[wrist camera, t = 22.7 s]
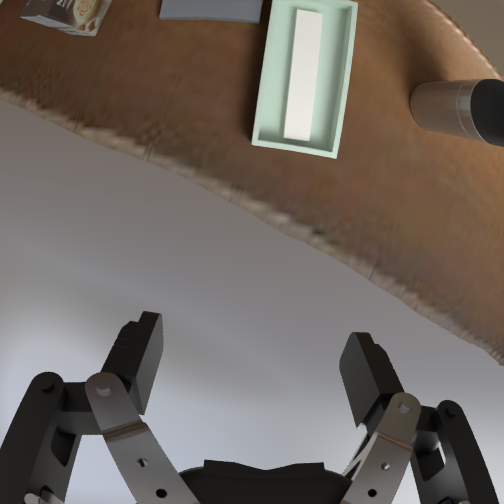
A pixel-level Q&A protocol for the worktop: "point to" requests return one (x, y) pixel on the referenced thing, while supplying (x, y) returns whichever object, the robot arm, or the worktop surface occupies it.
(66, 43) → the worktop surface
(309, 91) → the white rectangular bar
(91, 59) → the worktop surface
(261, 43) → the worktop surface
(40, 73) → the worktop surface
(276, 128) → the tray
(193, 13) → the grey pedestal stand
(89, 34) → the coffee box
